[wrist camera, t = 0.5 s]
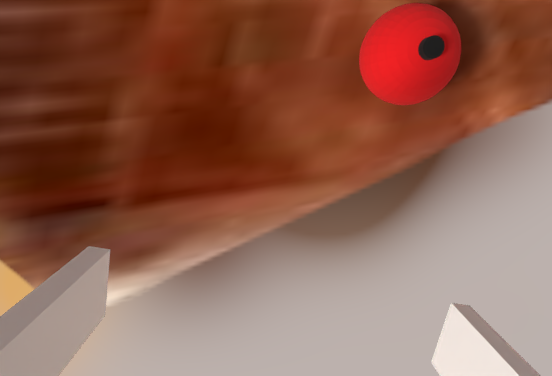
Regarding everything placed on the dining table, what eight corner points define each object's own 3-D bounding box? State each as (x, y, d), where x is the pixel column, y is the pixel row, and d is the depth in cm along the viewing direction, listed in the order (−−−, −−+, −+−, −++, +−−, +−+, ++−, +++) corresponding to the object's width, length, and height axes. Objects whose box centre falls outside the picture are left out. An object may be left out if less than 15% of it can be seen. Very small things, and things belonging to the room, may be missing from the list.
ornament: (437, 95, 38) (495, 90, 28) (357, 113, 38) (388, 115, 28) (427, 8, 36) (487, -29, 26) (342, 28, 36) (371, -2, 26)
